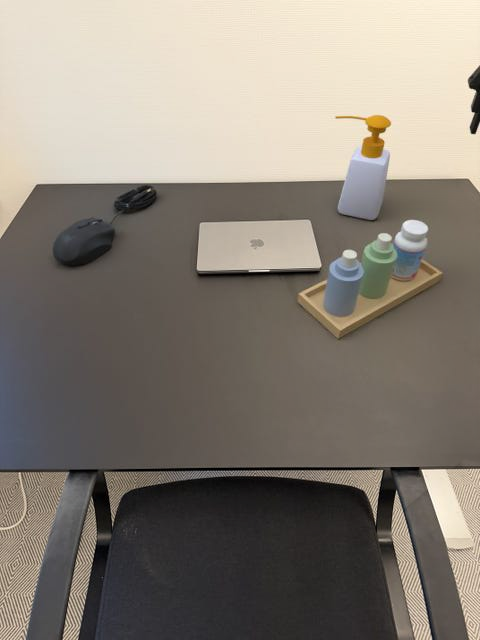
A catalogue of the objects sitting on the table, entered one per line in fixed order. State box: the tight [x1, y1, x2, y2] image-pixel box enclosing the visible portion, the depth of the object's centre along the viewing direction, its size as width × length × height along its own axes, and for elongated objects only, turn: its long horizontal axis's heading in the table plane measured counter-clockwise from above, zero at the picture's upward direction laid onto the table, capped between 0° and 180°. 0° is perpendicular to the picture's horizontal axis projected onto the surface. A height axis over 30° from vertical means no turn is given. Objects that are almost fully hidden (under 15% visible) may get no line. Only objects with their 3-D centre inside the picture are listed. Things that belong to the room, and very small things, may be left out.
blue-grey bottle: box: [323, 249, 364, 317], centre depth 85 cm, size 6×6×12 cm
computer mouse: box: [52, 184, 158, 266], centre depth 106 cm, size 10×32×6 cm, turn 154°
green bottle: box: [359, 232, 397, 299], centre depth 88 cm, size 6×6×12 cm
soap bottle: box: [334, 114, 392, 221], centre depth 106 cm, size 10×14×22 cm
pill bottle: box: [391, 219, 429, 281], centre depth 92 cm, size 6×6×11 cm
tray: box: [297, 258, 443, 340], centre depth 92 cm, size 28×12×2 cm, turn 124°
